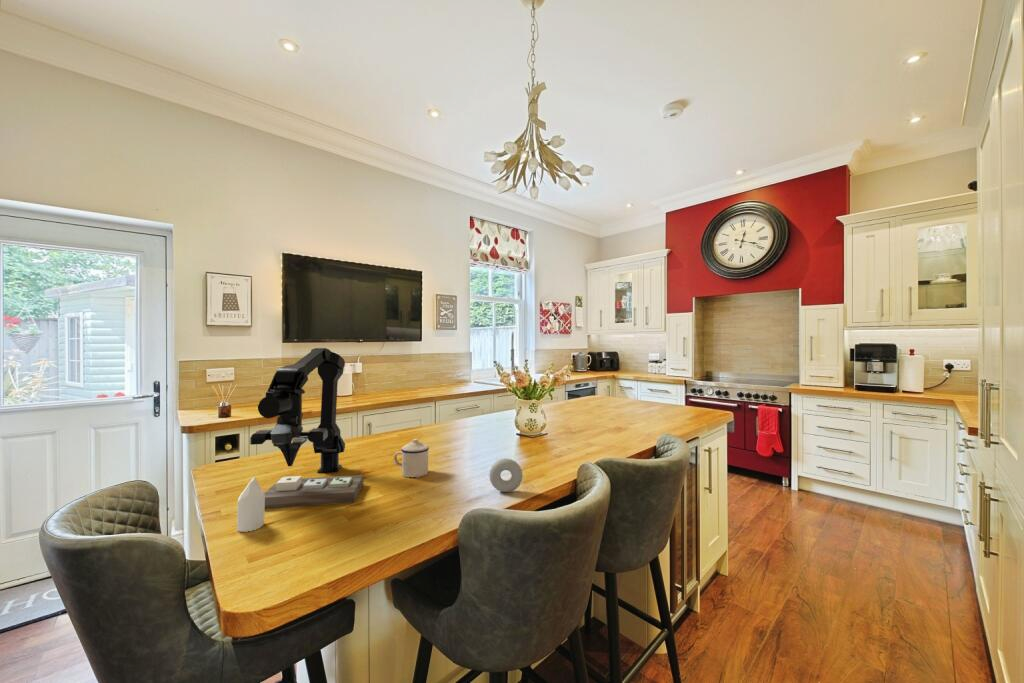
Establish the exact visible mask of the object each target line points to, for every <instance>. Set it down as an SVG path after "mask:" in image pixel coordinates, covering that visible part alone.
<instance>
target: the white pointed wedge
mask: <svg viewBox="0 0 1024 683" xmlns="http://www.w3.org/2000/svg"><path fill="white" fill-rule="evenodd" d="M265 492H266V491H264V490H263V488H262V487H261V485H259V481H258V479H257V477H256V476H254V477H252V479H251V480H249V482H248V484H247V485H246V487H245V489H244V490H243V491H242V492H241V493H240V495H239V496H238V498H237V512H236V513H237V514H236V515H237V517H236V518H237V521H236V530H237V532H240V533H246V532H247V533H249V532H248V531H250V532H254V531H257V530H259V529H260V527H261V526H262V527H263V526H264V524H265V523H264V522H265V512H266V511H265V510H266V509H265ZM262 527H261V528H262ZM258 528H259V529H258ZM256 529H257V530H256ZM253 530H254V531H253Z"/></svg>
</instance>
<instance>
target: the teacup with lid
mask: <svg viewBox="0 0 1024 683" xmlns="http://www.w3.org/2000/svg"><path fill="white" fill-rule="evenodd" d="M429 449H430V447H429V445H428V444H426V443H423V442H421V441H419V439H418V438H413V439H412V440H411V442H409V443H407V444H405V445H403V446H402V447H401V450H399V451H396V452H395V453H394V455H393V460H394V463H395V465H396V466H399V467H401V475H402V476H403V477H405V478H409V477H412V479H413V477H416V478H421V476H422V477H424V476H426V475H427V474H428V473H429ZM398 455H401V463H400V462H399V461H398V458H397V456H398Z"/></svg>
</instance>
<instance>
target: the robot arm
mask: <svg viewBox="0 0 1024 683" xmlns="http://www.w3.org/2000/svg"><path fill="white" fill-rule="evenodd" d="M345 366H346V361H345V359H344V358H343V357H342V356H341V355H340V354H339V353H335V352H334V351H331V350H330V349H329V348H327V347H315V348H311V350H310V352H309V353H307V354H305V356H303V357H301V358H300V359H299V360H298V361H297V362H295V363H293V364H287V365H283V366H281V367H279V368H278V369H277V370H276V371H275V373H274V375H273V377H272V379H271V382H270V384H269V387H268V389H267V391H266V392H265V397H263V398H262V399H260V400H259V403H258V404H257V411H258V413H259V414H260V416H262V418H265V419H272V418H277V419H276V423H275V424H276V425H275V426H274V427H273V428H272V429H263V430H261V429H260V430H258V431H255V432H254V433H253V434H251V436H250V439H249V444H250V445H252V446H253V445H263V444H264V443H265V442H266V441H271V444H272V446H273V447H276V448H278V449H279V450H280V452H281V453H282V455H283V457H284V460H285V462H286V464H287V467H293V464H294V462H295V459H296V457H297V455H298V453H299V450H300V449H301V447H302V445H303V444H304V443H306V442H307V441H309V442H310V443H312V446H313V453H314V454H320V467H319V469H317V471H316V473H336V472H337V473H338V471H339V470H340V469H341V467H342V464H340V462H339V460H340V458H339V457H340V453H344V452H345V448H346V443H345V441H344V439H343V438H342V436H341V429H340V427H339V426H338V424H337V423H336V422H337V403H338V398H337V397H338V383H339V379H341V377H342V376H343V374H344V368H345ZM316 368H317V375H318V376H319V377H320V379H321V381H322V383H321V386H322V387H321V403H320V422H319V424H318V426H317V427H313V428H312V429H311V430H309V431H303V430H304V427H303V423H302V422H303V421H302V420H303V416H304V413H303V409H302V408H303V395H304V394H305V393H306V391H305V390H304V389H303V387H304V386H305V385H306V383H307V382H308V381H309V375H310V374H311V373H312V372H313V371H314V370H316Z"/></svg>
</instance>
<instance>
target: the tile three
mask: <svg viewBox="0 0 1024 683" xmlns="http://www.w3.org/2000/svg"><path fill="white" fill-rule="evenodd" d="M351 483H352V477H346V478H334V479H333V480H332V482H331V483H330V488H338V487H349V486H350V484H351Z"/></svg>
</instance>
